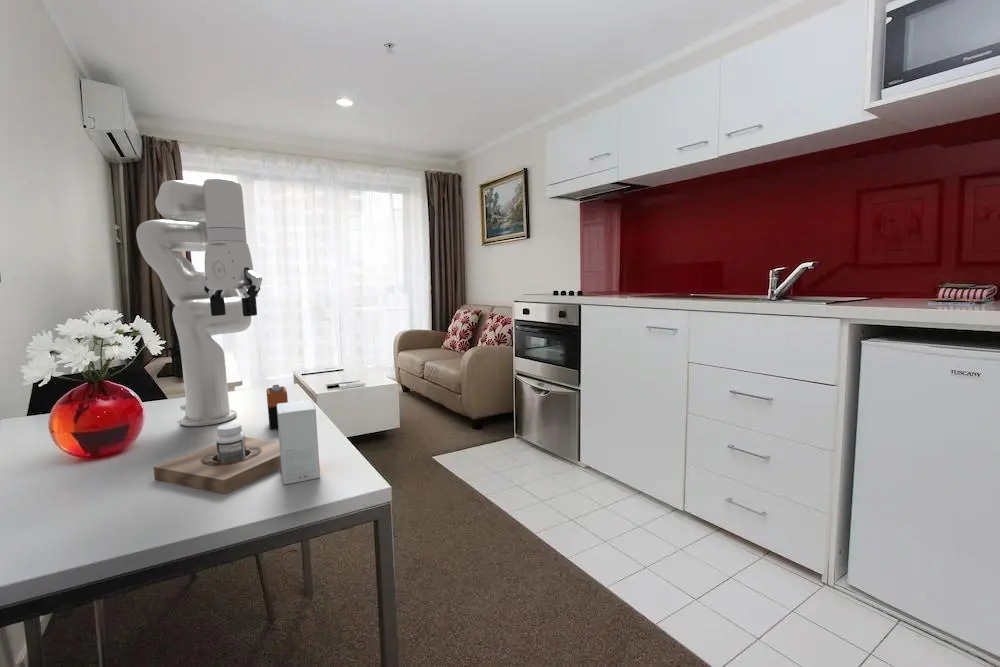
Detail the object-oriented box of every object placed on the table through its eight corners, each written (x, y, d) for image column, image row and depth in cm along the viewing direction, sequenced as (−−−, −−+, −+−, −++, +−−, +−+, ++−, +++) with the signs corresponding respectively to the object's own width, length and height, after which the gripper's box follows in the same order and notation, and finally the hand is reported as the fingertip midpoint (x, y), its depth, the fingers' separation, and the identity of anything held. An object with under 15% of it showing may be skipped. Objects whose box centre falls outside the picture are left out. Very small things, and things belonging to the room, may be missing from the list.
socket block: (154, 479, 90) (153, 466, 90) (239, 447, 107) (238, 436, 106) (225, 494, 83) (223, 480, 83) (303, 456, 100) (302, 445, 100)
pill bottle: (225, 463, 97) (222, 422, 96) (250, 462, 98) (247, 421, 97) (214, 473, 93) (210, 430, 92) (240, 471, 93) (236, 429, 92)
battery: (270, 430, 118) (267, 390, 117) (269, 423, 124) (265, 384, 123) (290, 427, 120) (286, 387, 119) (287, 420, 126) (284, 382, 125)
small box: (320, 478, 89) (316, 408, 87) (282, 485, 86) (277, 413, 85) (316, 463, 96) (311, 398, 95) (281, 469, 94) (275, 403, 92)
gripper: (183, 238, 107) (191, 316, 109) (241, 234, 101) (248, 317, 103) (214, 240, 114) (221, 313, 116) (270, 236, 107) (276, 314, 110)
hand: (234, 315), depth 109 cm, fingers open, 9 cm apart
